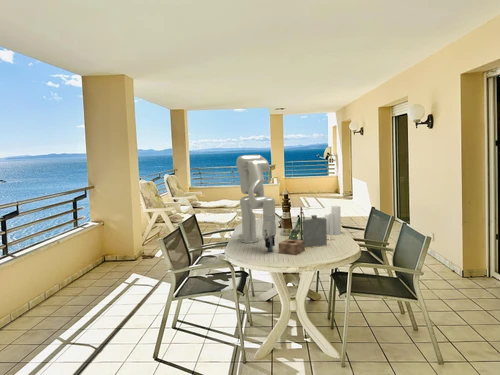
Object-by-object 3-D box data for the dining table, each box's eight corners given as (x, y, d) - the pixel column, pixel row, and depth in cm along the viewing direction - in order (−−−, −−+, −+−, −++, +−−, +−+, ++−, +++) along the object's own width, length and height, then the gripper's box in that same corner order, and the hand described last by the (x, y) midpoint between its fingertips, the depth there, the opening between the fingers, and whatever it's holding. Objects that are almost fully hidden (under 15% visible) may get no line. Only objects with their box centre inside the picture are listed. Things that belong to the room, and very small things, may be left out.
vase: (339, 232, 293) (339, 206, 291) (341, 234, 286) (341, 207, 284) (324, 233, 293) (323, 206, 291) (326, 235, 286) (325, 208, 284)
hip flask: (304, 247, 254) (303, 216, 252) (302, 245, 258) (301, 215, 256) (327, 245, 257) (327, 215, 255) (325, 243, 261) (324, 214, 259)
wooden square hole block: (278, 252, 243) (278, 243, 242) (287, 248, 253) (287, 239, 252) (296, 255, 236) (296, 245, 236) (304, 250, 246) (304, 240, 246)
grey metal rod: (266, 252, 245) (266, 233, 244) (269, 250, 248) (268, 232, 247) (271, 252, 244) (270, 233, 242) (273, 251, 246) (273, 232, 245)
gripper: (270, 215, 253) (271, 243, 255) (257, 219, 238) (258, 249, 240) (280, 216, 249) (281, 244, 251) (267, 220, 234) (268, 250, 236)
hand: (270, 246), depth 245 cm, fingers open, 4 cm apart
